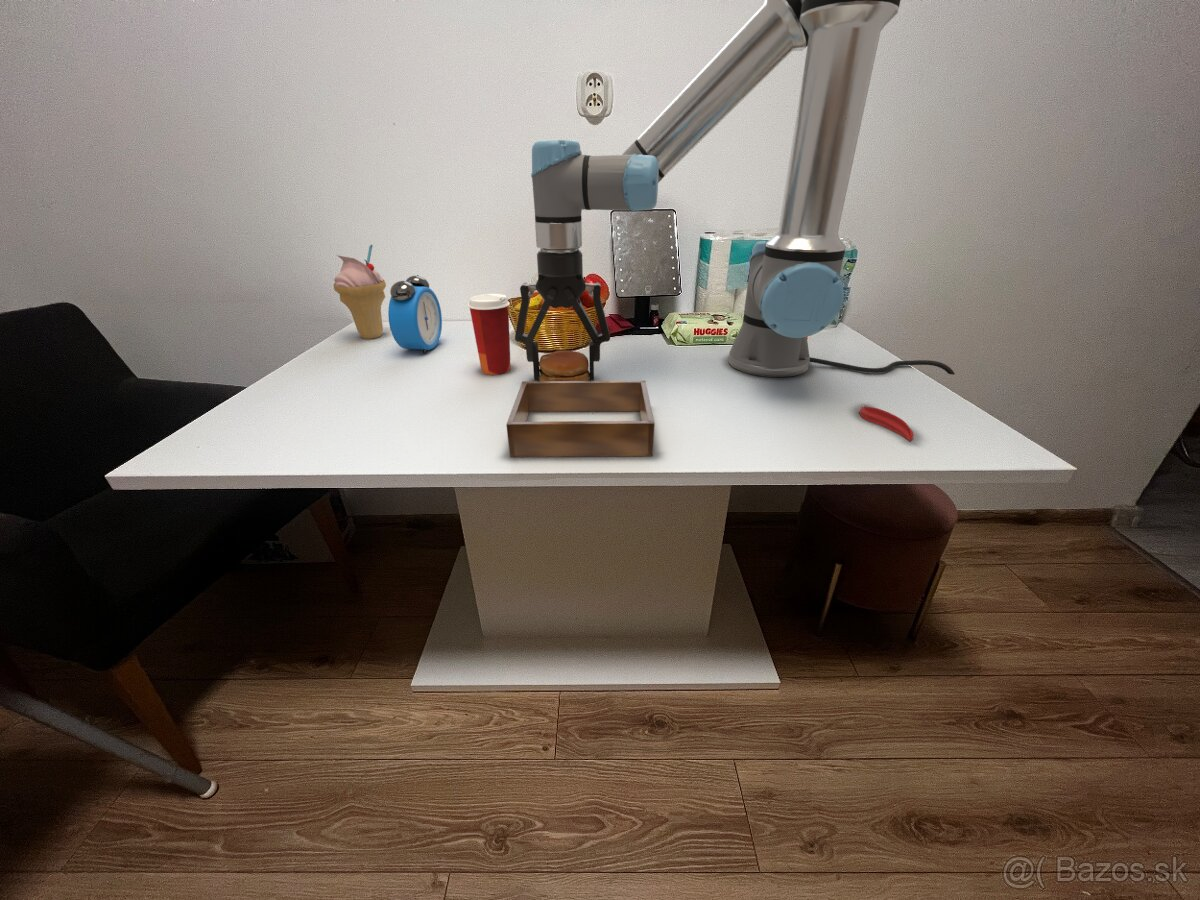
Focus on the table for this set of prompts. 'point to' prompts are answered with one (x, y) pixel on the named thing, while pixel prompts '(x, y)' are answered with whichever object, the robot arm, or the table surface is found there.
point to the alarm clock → (414, 314)
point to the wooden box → (581, 434)
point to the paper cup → (491, 331)
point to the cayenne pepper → (886, 421)
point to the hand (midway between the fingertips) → (564, 377)
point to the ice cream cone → (362, 294)
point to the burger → (564, 366)
